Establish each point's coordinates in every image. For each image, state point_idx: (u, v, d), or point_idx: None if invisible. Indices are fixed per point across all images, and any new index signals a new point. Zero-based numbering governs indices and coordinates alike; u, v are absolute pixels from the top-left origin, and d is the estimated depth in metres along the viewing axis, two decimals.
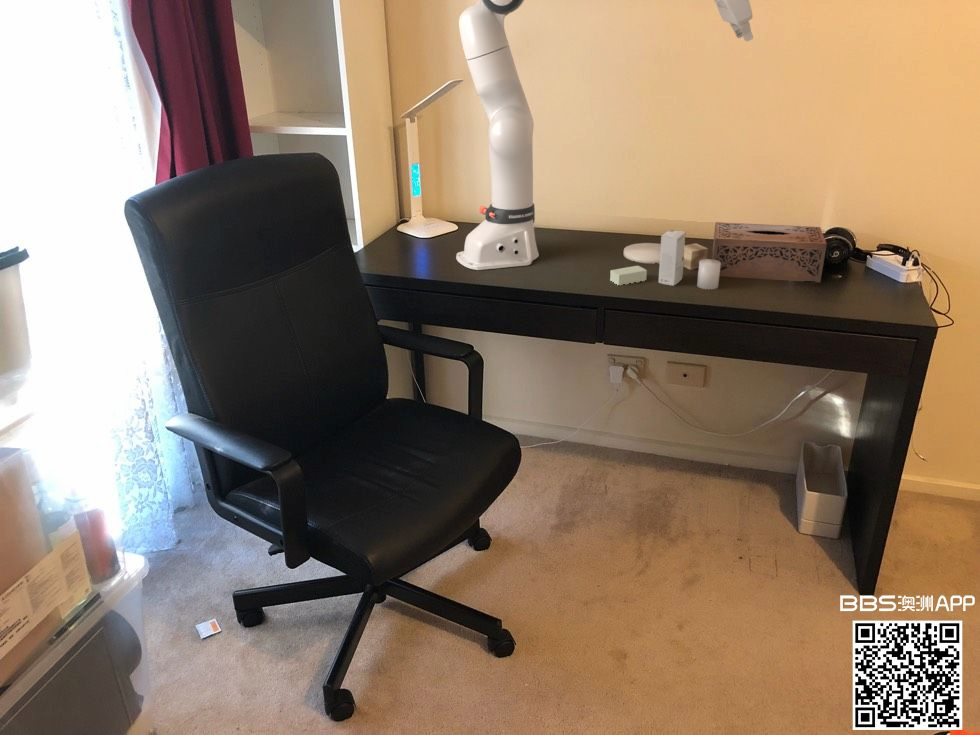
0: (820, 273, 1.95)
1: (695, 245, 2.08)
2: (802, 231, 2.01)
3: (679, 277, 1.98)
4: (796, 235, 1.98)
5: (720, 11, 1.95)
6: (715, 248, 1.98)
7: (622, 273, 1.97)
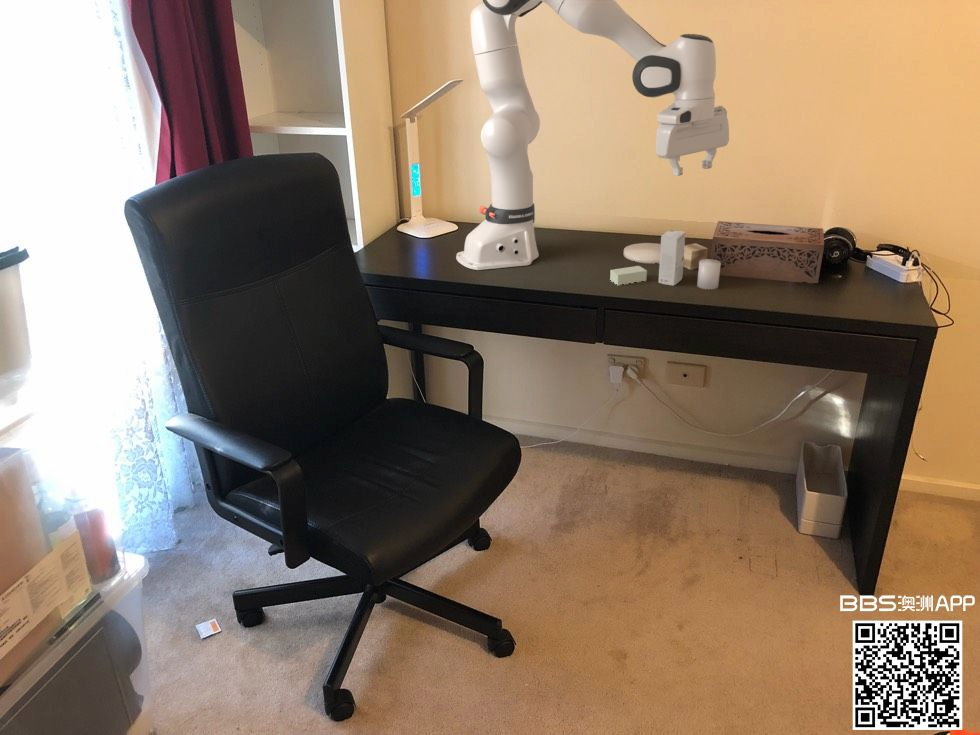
0: (817, 274, 1.94)
1: (695, 245, 2.08)
2: (803, 232, 2.00)
3: (679, 277, 1.98)
4: (796, 236, 1.98)
5: None
6: (713, 246, 2.00)
7: (621, 273, 1.97)
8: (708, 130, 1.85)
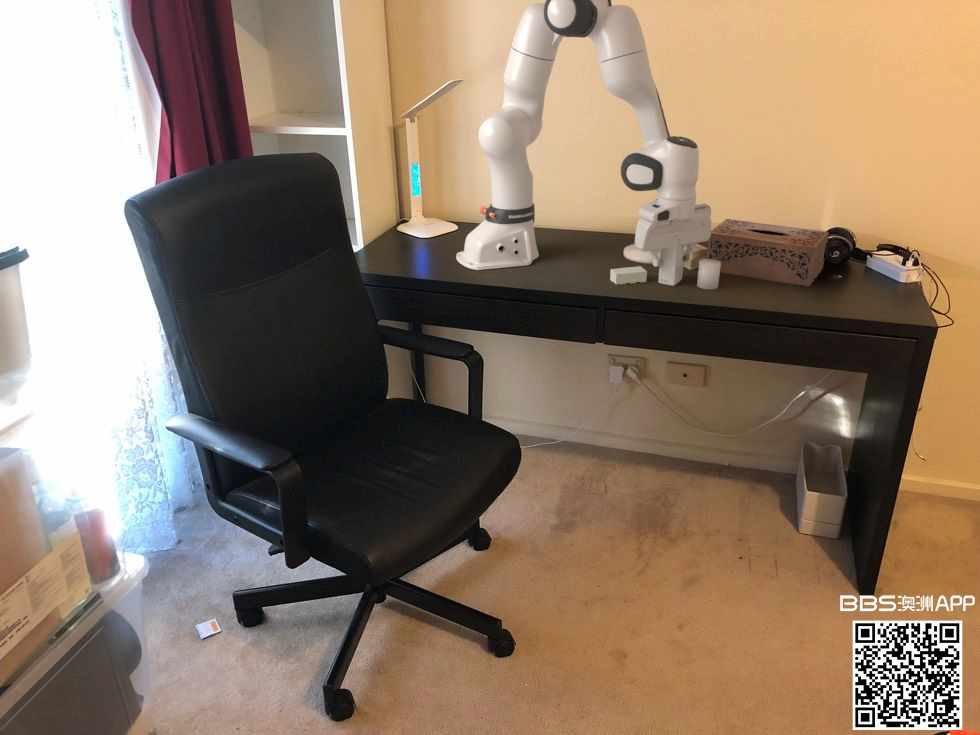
0: (809, 277, 1.92)
1: None
2: (805, 234, 1.99)
3: (679, 277, 1.98)
4: (794, 237, 1.96)
5: None
6: (708, 242, 2.03)
7: (620, 273, 1.97)
8: (688, 226, 1.93)
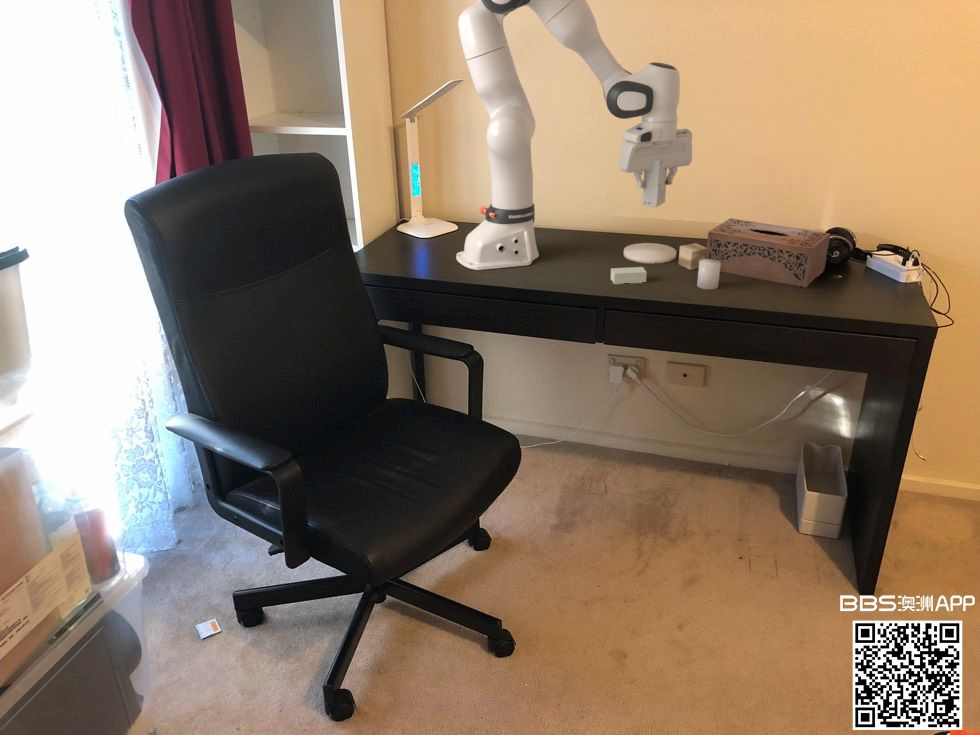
0: (806, 278, 1.92)
1: (695, 245, 2.08)
2: (805, 235, 1.98)
3: (662, 200, 2.09)
4: (793, 238, 1.96)
5: None
6: (708, 241, 2.03)
7: (619, 272, 1.97)
8: (670, 149, 2.04)
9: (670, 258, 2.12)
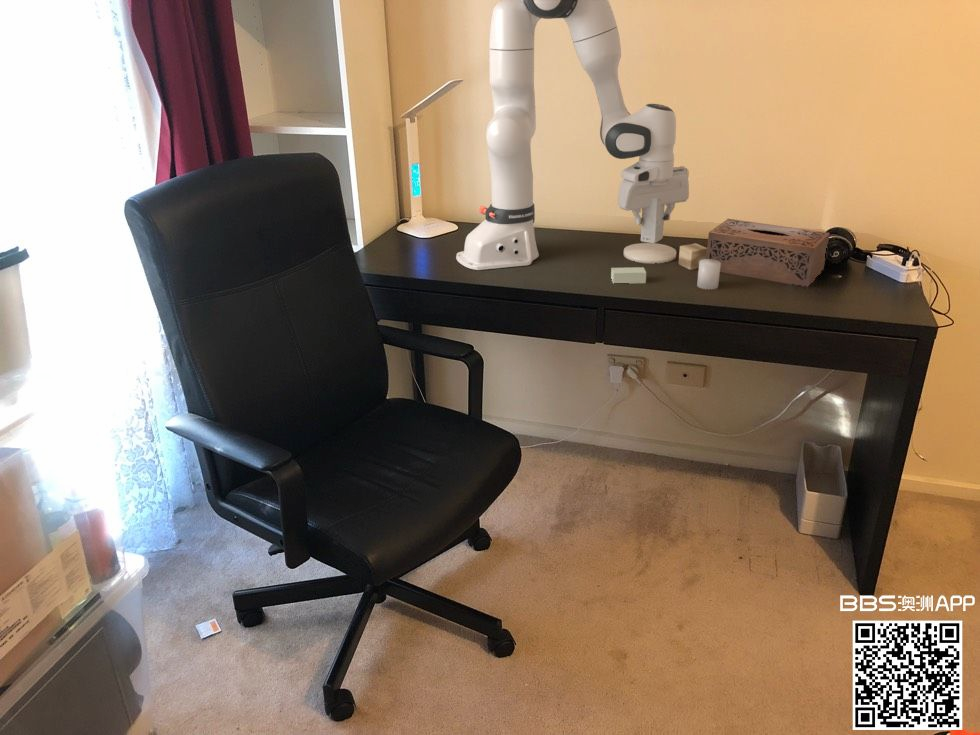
0: (808, 278, 1.92)
1: (695, 245, 2.08)
2: (805, 235, 1.98)
3: (660, 236, 2.14)
4: (794, 238, 1.96)
5: None
6: (708, 242, 2.03)
7: (618, 272, 1.97)
8: (667, 187, 2.09)
9: (670, 258, 2.12)
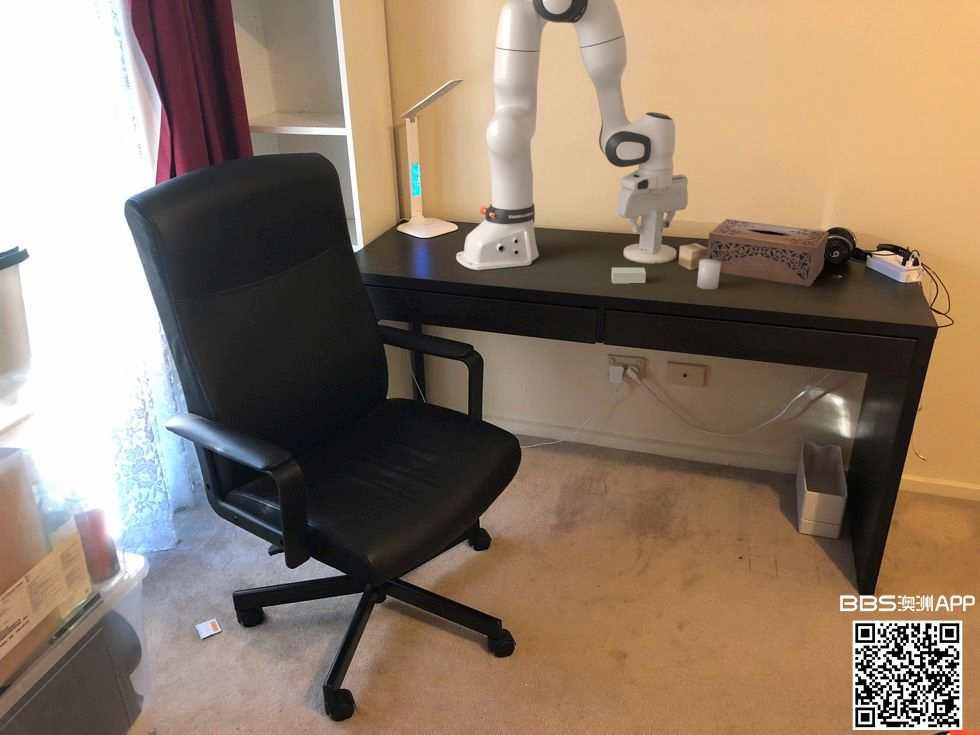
0: (810, 277, 1.92)
1: (695, 245, 2.08)
2: (805, 234, 1.99)
3: (658, 247, 2.15)
4: (794, 237, 1.96)
5: None
6: (709, 243, 2.02)
7: (618, 272, 1.98)
8: (666, 195, 2.10)
9: (670, 258, 2.12)
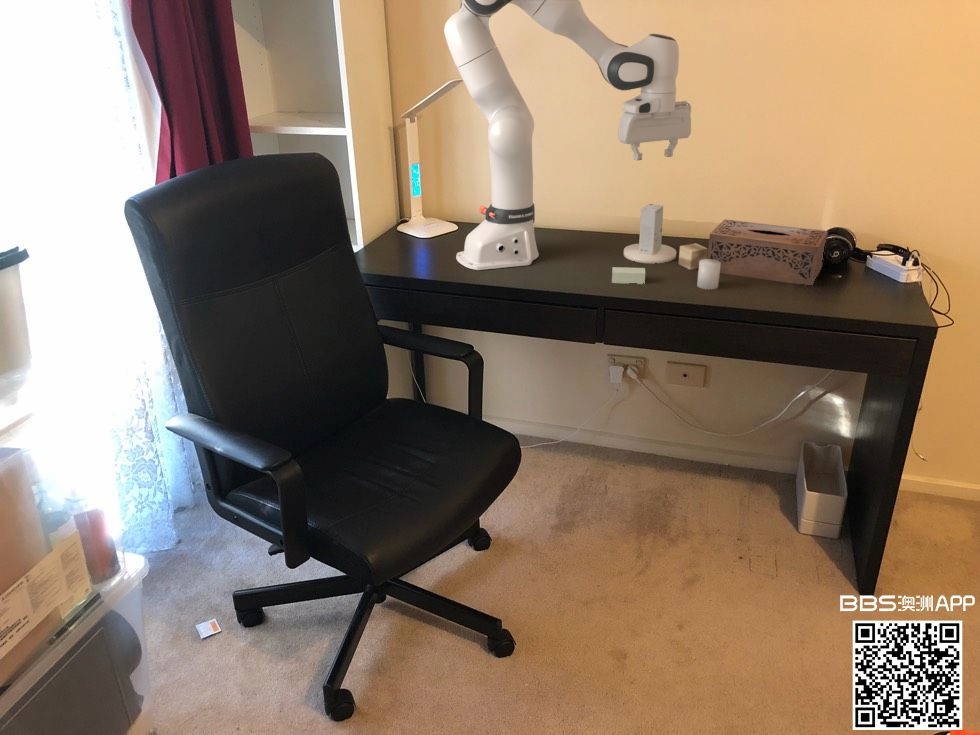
0: (812, 277, 1.93)
1: (695, 245, 2.08)
2: (805, 234, 1.99)
3: (658, 247, 2.15)
4: (795, 237, 1.97)
5: None
6: (710, 243, 2.02)
7: (618, 271, 1.98)
8: (669, 121, 2.05)
9: (670, 258, 2.12)
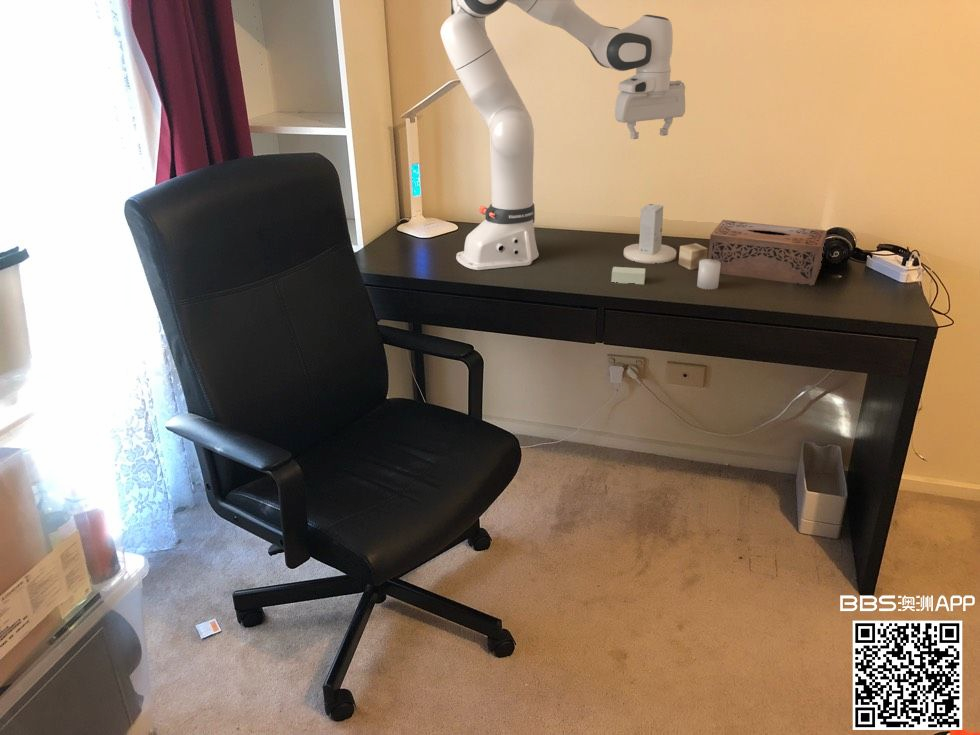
0: (813, 276, 1.93)
1: (695, 245, 2.08)
2: (804, 233, 1.99)
3: (658, 247, 2.15)
4: (795, 237, 1.97)
5: None
6: (710, 244, 2.01)
7: (617, 271, 1.98)
8: (664, 100, 2.11)
9: (670, 258, 2.12)
